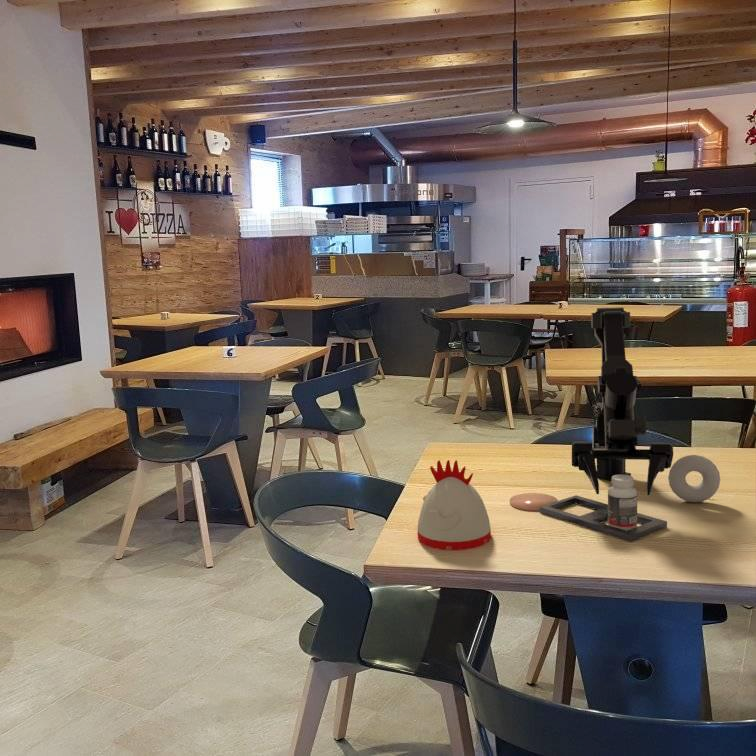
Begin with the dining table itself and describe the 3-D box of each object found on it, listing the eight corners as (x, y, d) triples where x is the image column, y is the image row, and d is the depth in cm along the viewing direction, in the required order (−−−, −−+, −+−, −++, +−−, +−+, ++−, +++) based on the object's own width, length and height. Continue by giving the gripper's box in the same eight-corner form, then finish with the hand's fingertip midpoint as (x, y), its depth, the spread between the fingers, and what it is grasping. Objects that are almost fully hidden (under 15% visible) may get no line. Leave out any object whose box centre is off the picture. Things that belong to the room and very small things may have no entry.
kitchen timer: (430, 521, 161) (428, 449, 158) (498, 527, 156) (496, 452, 153) (408, 546, 148) (404, 468, 146) (480, 553, 143) (478, 473, 141)
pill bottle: (603, 522, 156) (603, 474, 154) (630, 520, 156) (630, 472, 154) (614, 532, 150) (614, 482, 149) (641, 530, 151) (642, 480, 149)
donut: (718, 500, 165) (719, 453, 164) (720, 505, 162) (722, 458, 160) (667, 498, 168) (668, 452, 166) (668, 503, 165) (669, 456, 163)
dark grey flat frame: (575, 500, 169) (575, 495, 169) (667, 527, 151) (667, 521, 151) (540, 512, 163) (539, 506, 163) (630, 542, 145) (630, 535, 145)
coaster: (532, 492, 176) (532, 490, 176) (567, 503, 168) (567, 500, 168) (499, 502, 170) (499, 500, 170) (534, 514, 162) (534, 511, 162)
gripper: (571, 401, 155) (572, 472, 146) (672, 401, 151) (680, 474, 142) (571, 431, 164) (572, 500, 155) (667, 432, 160) (673, 502, 151)
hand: (623, 493), depth 151 cm, fingers open, 9 cm apart
